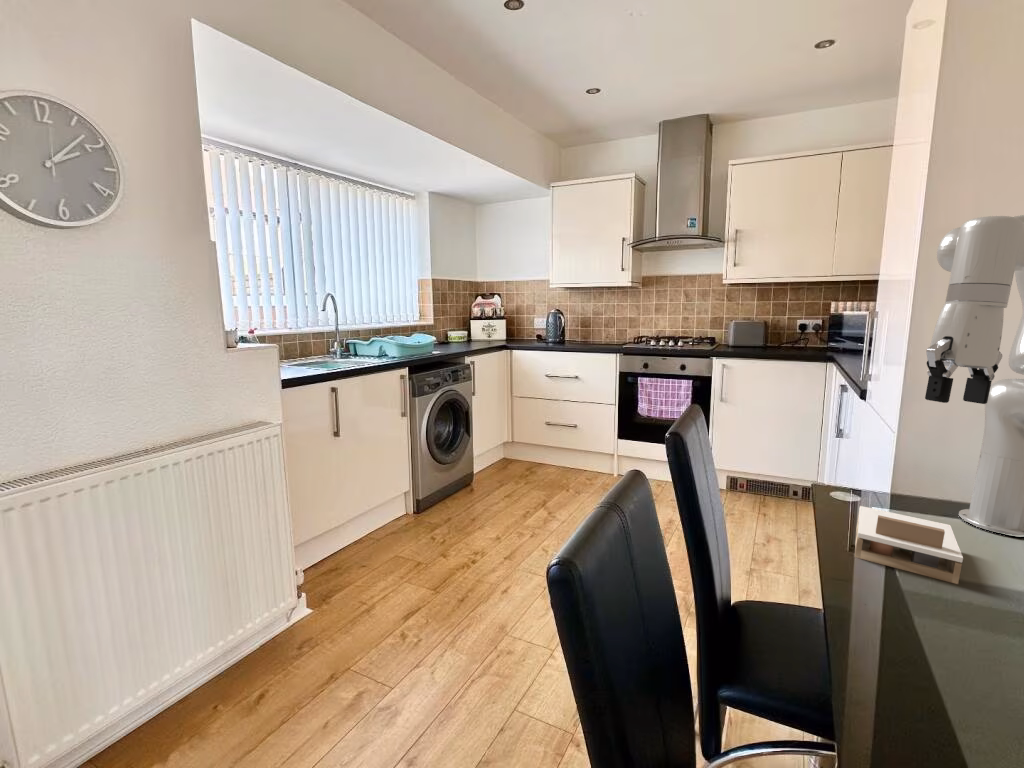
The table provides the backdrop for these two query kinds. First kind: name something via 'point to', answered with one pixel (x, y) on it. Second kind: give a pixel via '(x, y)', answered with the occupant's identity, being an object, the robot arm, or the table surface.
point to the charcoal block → (925, 559)
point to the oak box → (908, 561)
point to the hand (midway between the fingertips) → (955, 401)
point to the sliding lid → (908, 533)
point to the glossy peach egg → (881, 548)
